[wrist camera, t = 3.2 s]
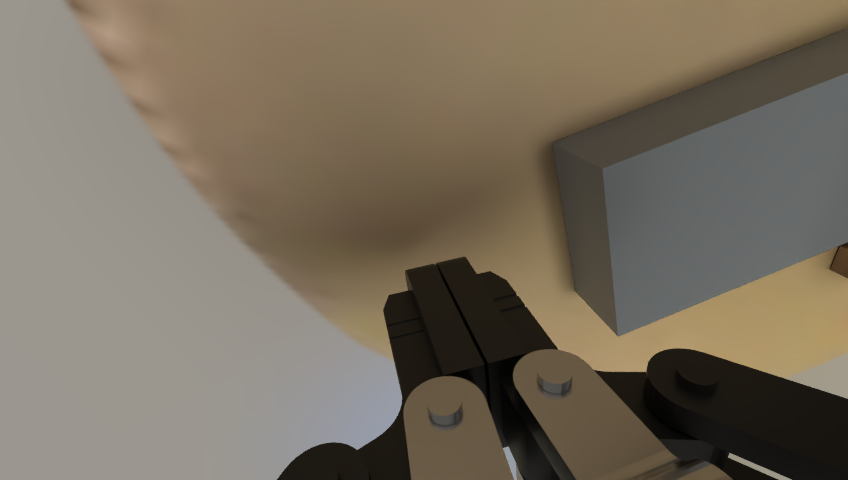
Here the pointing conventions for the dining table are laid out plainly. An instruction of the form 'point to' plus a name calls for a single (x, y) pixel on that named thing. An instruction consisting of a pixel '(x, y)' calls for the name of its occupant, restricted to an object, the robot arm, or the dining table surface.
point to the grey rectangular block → (709, 186)
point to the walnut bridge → (841, 261)
